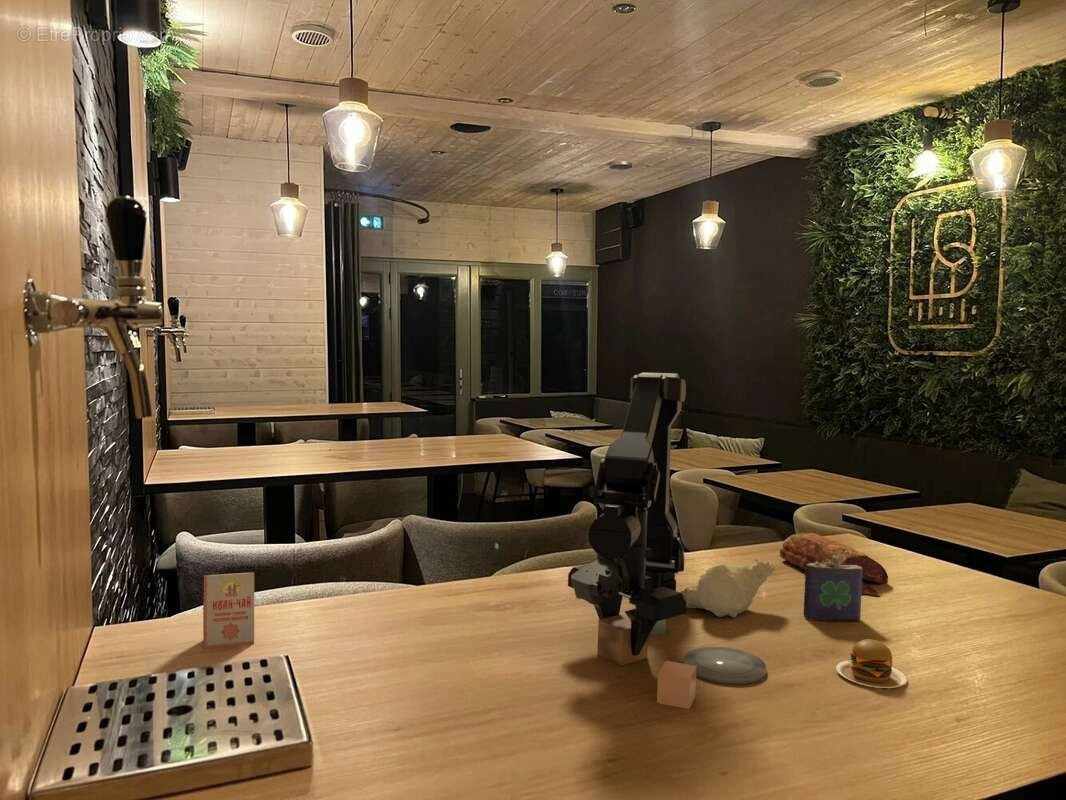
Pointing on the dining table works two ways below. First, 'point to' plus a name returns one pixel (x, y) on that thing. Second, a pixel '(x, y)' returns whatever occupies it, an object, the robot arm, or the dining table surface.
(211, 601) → the tea box
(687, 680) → the terracotta block
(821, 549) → the cured meat
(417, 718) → the dining table surface
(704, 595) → the white lumpy piece
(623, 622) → the walnut block
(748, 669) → the saucer
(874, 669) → the hamburger
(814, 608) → the flask
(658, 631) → the green tin
